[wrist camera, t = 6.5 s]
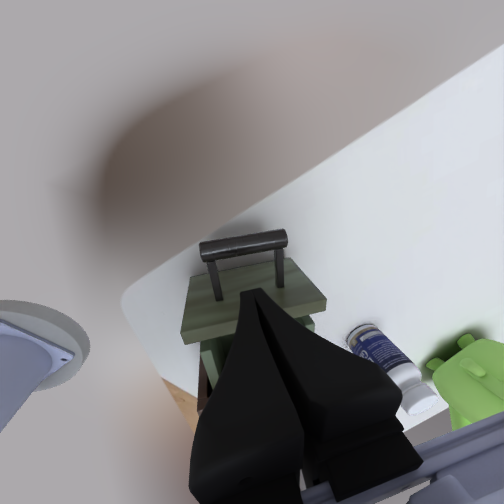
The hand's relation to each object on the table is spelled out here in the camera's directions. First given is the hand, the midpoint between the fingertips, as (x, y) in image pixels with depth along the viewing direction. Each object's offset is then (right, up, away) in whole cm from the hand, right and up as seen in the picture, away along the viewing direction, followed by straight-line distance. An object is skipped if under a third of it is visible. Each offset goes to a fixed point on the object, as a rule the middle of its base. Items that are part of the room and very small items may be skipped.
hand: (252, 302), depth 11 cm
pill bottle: (+18, -10, +18) cm, 28 cm away
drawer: (-1, -2, +9) cm, 9 cm away
